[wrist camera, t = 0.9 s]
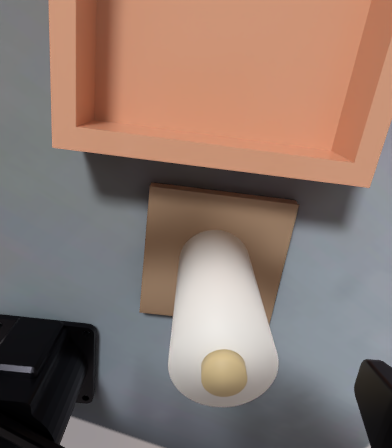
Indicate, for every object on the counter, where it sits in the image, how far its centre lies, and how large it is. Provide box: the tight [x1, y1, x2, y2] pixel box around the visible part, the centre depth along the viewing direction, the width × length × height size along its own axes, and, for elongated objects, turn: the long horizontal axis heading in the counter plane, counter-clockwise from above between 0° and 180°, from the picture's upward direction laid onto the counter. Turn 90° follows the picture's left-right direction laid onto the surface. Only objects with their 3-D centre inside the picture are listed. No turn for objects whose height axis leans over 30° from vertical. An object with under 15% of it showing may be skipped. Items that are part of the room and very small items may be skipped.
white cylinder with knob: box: [168, 230, 279, 407], centre depth 16 cm, size 4×4×9 cm
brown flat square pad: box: [140, 182, 299, 324], centre depth 21 cm, size 8×8×1 cm
